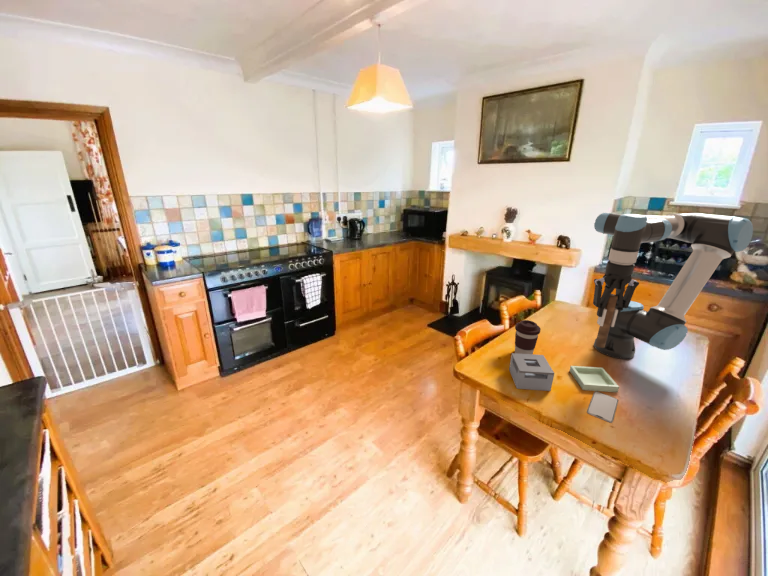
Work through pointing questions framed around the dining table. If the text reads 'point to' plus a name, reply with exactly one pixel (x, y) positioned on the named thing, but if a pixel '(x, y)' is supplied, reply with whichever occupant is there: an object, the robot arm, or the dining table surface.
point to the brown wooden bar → (606, 322)
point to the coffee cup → (526, 336)
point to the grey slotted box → (531, 372)
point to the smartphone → (603, 406)
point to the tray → (593, 379)
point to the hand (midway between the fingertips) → (605, 324)
